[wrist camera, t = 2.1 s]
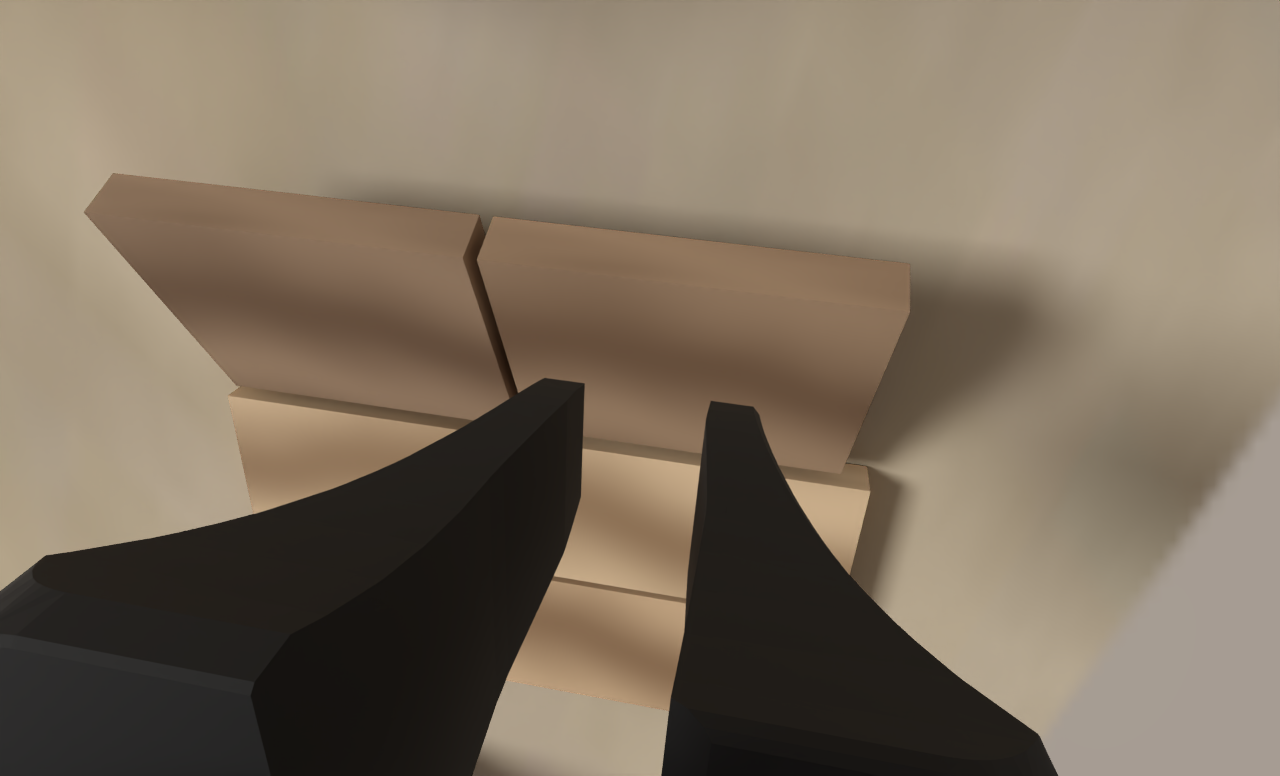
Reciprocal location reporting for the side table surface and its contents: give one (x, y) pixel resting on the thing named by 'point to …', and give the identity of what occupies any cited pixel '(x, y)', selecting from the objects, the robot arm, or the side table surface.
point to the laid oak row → (597, 546)
